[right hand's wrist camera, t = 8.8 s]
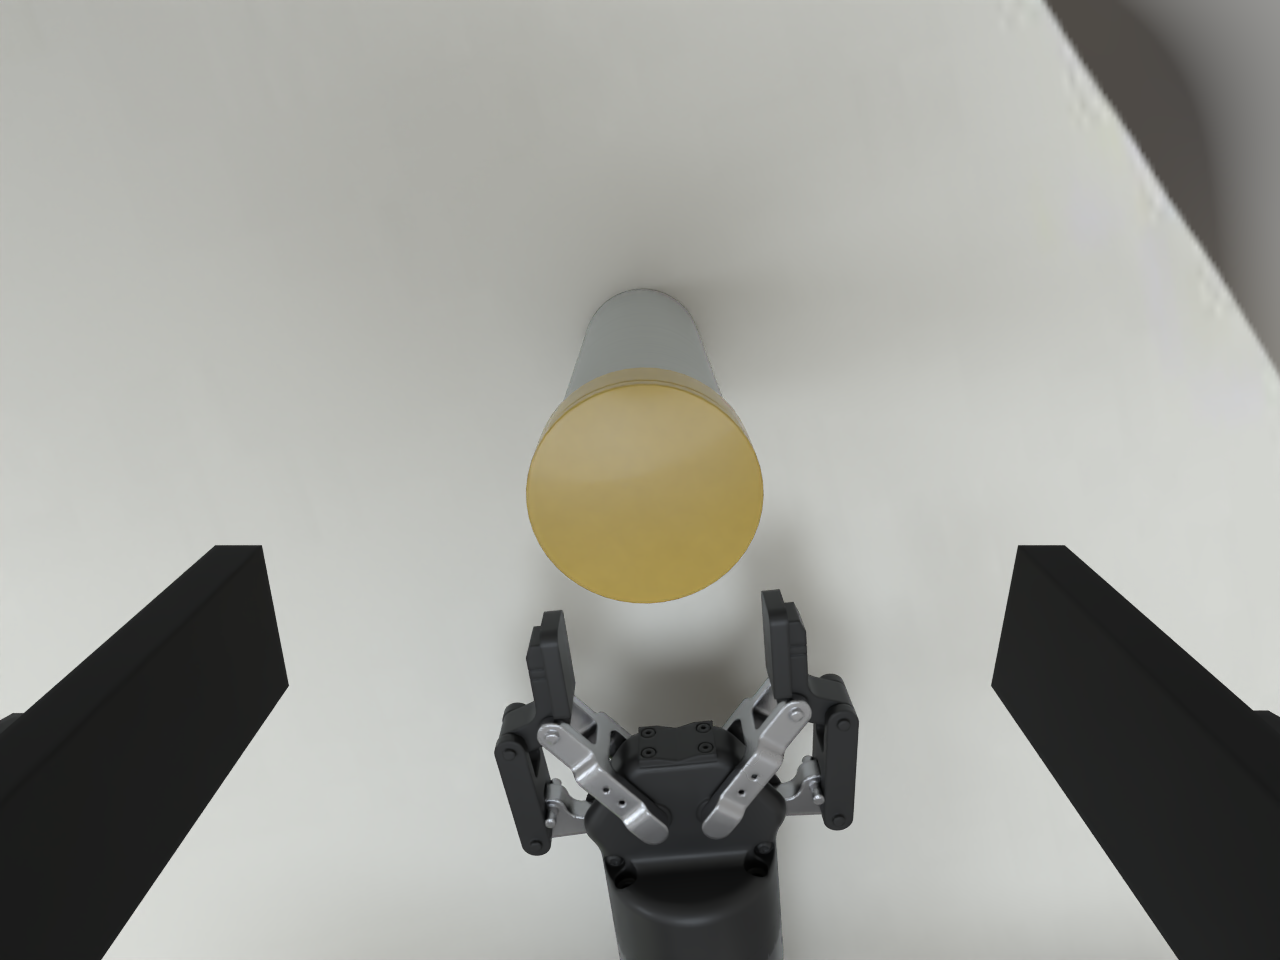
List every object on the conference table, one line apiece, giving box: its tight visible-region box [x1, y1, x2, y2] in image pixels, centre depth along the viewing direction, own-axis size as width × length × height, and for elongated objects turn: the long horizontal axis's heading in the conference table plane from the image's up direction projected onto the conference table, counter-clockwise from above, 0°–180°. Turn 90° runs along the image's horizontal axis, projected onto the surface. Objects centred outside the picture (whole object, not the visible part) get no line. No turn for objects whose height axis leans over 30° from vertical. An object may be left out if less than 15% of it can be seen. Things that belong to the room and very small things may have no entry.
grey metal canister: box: [564, 289, 722, 400], centre depth 25 cm, size 5×5×16 cm
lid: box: [526, 367, 764, 603], centre depth 18 cm, size 5×5×2 cm
